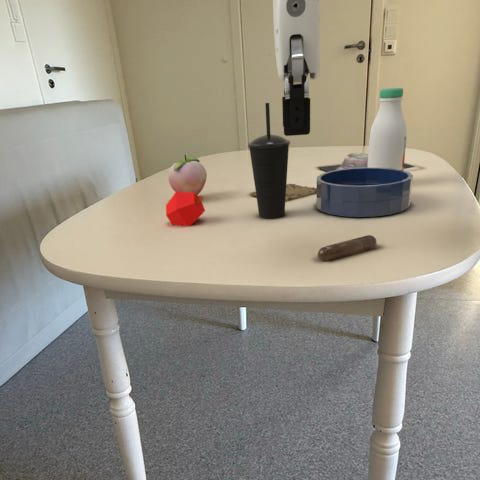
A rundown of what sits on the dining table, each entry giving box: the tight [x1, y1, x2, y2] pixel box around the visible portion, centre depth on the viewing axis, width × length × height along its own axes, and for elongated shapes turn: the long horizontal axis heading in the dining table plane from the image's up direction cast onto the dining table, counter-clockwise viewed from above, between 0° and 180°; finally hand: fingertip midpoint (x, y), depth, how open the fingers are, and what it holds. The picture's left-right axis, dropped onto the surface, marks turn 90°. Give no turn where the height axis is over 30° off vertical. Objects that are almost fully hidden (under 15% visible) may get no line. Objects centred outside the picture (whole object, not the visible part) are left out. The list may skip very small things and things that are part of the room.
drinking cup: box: [247, 102, 291, 220], centre depth 81 cm, size 8×8×20 cm
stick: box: [317, 234, 378, 262], centre depth 65 cm, size 10×2×2 cm, turn 117°
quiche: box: [317, 152, 416, 173], centre depth 120 cm, size 21×20×4 cm
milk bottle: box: [367, 87, 408, 171], centre depth 97 cm, size 8×8×20 cm
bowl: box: [316, 167, 414, 218], centre depth 86 cm, size 18×18×6 cm
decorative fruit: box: [167, 154, 208, 196], centre depth 102 cm, size 9×8×10 cm
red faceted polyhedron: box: [165, 192, 206, 227], centre depth 85 cm, size 7×7×8 cm
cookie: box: [249, 183, 317, 203], centre depth 102 cm, size 12×12×1 cm
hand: (295, 130), depth 59 cm, fingers open, 9 cm apart
